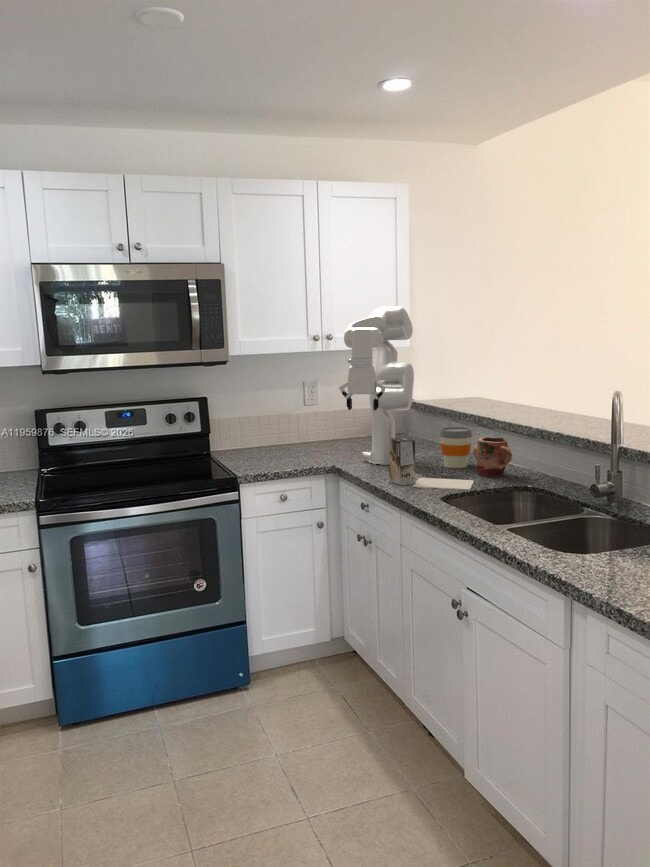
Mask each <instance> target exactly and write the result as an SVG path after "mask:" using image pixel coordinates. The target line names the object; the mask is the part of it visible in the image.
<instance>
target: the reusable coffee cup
mask: <svg viewBox="0 0 650 867" xmlns="http://www.w3.org/2000/svg"><path fill="white" fill-rule="evenodd" d="M439 437H440V438H441V442H440V447H441V449H440V450H441V454H442V456H443V465H444V467H445V468H449V469H463V468H466V467H468V462H469V455H470V454H471V448H472V443H471V438H472V437H473V432H472V429H471V428H469V427H463V426H462V427H461V426H449V427H443V428H441V429H440V433H439Z"/></svg>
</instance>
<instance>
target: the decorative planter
mask: <svg viewBox="0 0 650 867" xmlns="http://www.w3.org/2000/svg"><path fill="white" fill-rule="evenodd" d="M472 454H473V456H474V457H475V458H476V465H475V466H476V474H477V475H479V476H481V477H483V478H496V477H502V476H503V475H504V473H505V470H506V468H507V465H508V464H510V462H511V461H512V458H513V454H512V451H511V449H510V447H509V445H508V441H507V439H505V438H504V437H481V438H479V439H478V440H477V442H476V444H475V447H474V448H473V450H472Z"/></svg>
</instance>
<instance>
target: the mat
mask: <svg viewBox="0 0 650 867" xmlns="http://www.w3.org/2000/svg"><path fill="white" fill-rule="evenodd" d="M474 483H475V480H474V479H458V478H457V479H454V478H435V477H433V478H432V477H419V478H418V479H417V480H415V484H412V488H413V487H424V488H423V489H433V488H437V490H453V489H454V490H457V491H471V490H472V489H471V488H472V487H473V485H474Z"/></svg>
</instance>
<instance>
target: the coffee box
mask: <svg viewBox="0 0 650 867" xmlns="http://www.w3.org/2000/svg"><path fill="white" fill-rule="evenodd" d="M388 466H389V482H391V481H392V483H393V482H394V484H396V485H398V484H399V486H401V485H402V486H407V484H410V485H414V484H415V483H416V440H414V439H411V438H408V437H403V436H402V437H395V438H391V439H389V465H388Z"/></svg>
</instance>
